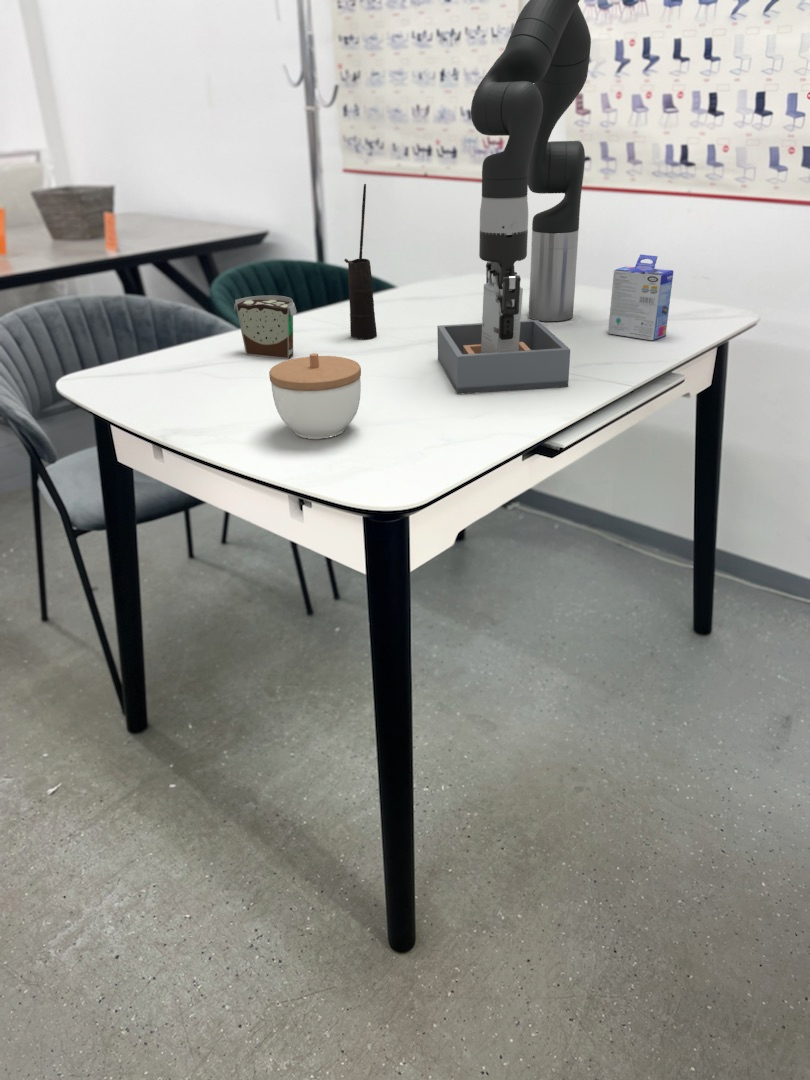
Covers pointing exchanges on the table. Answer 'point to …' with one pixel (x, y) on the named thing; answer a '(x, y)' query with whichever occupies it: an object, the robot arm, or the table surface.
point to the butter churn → (361, 292)
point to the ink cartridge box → (640, 300)
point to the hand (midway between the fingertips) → (501, 333)
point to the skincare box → (497, 324)
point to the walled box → (503, 359)
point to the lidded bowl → (316, 394)
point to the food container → (267, 325)
